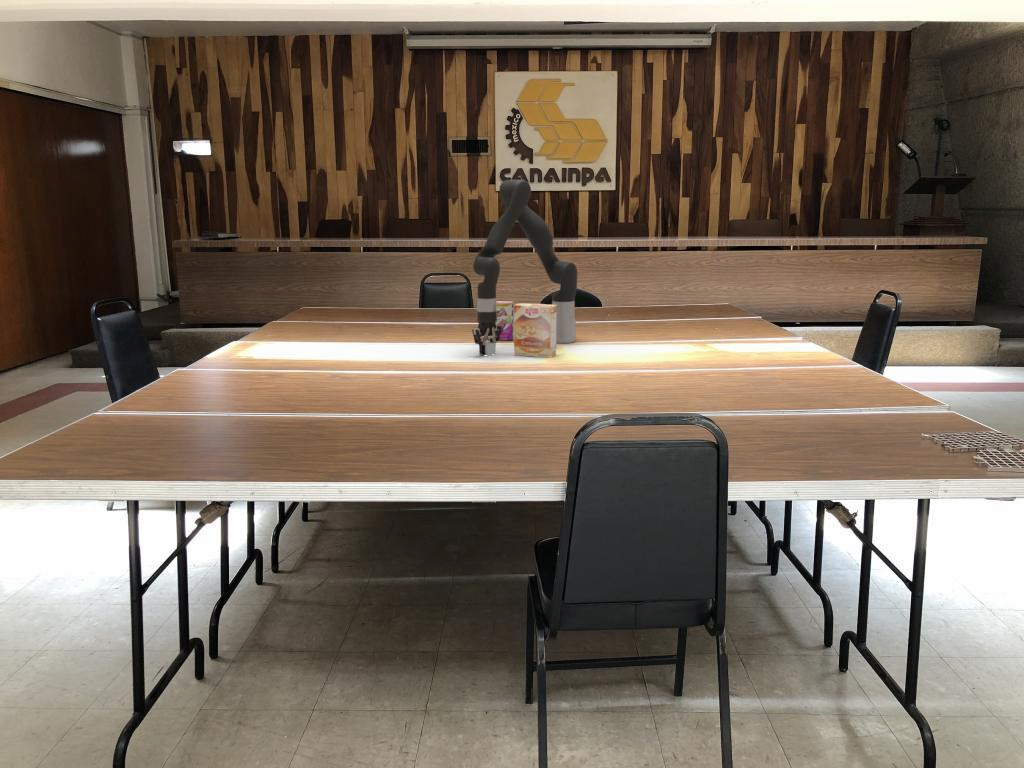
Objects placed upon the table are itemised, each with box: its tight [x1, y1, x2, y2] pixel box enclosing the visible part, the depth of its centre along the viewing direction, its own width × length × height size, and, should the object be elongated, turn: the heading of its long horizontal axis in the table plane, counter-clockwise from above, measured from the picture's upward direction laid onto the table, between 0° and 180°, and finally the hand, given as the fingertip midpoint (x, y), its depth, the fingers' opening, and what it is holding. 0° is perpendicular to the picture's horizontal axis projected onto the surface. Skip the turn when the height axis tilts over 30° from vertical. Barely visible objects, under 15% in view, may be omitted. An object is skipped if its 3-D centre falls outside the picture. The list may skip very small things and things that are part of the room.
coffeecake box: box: [513, 302, 557, 358], centre depth 325 cm, size 15×7×20 cm, turn 67°
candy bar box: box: [486, 300, 515, 341], centre depth 359 cm, size 11×5×16 cm, turn 84°
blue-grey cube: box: [478, 341, 497, 356], centre depth 328 cm, size 4×4×4 cm
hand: (487, 353), depth 328 cm, fingers closed on blue-grey cube, 4 cm apart
